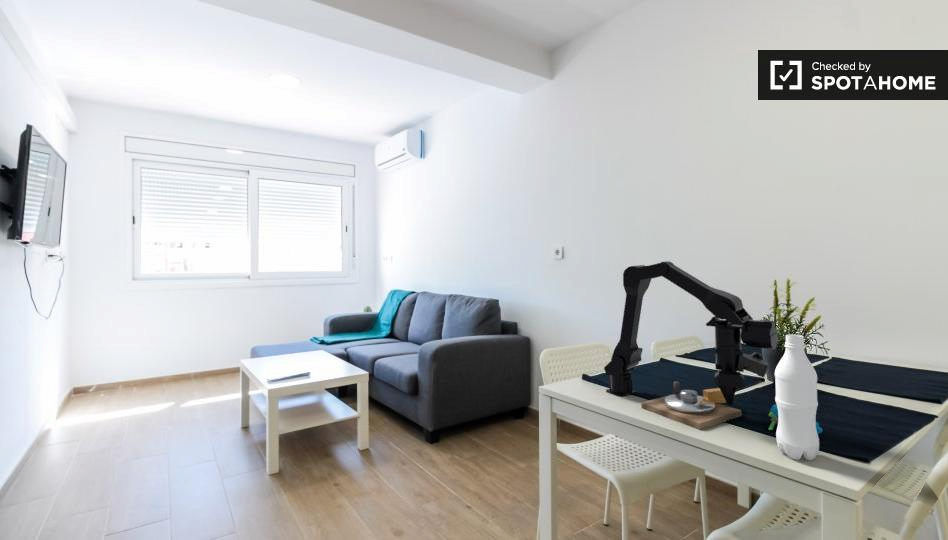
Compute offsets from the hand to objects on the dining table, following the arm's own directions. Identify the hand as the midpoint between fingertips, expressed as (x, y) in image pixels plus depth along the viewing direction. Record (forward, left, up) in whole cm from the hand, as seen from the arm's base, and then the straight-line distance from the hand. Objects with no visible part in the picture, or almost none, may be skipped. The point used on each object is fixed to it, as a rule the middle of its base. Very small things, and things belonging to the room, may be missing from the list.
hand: (729, 404), depth 113 cm
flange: (-7, -3, -2) cm, 8 cm away
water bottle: (+20, -8, -3) cm, 22 cm away
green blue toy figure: (+14, +1, -4) cm, 15 cm away
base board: (-8, -5, -3) cm, 10 cm away
